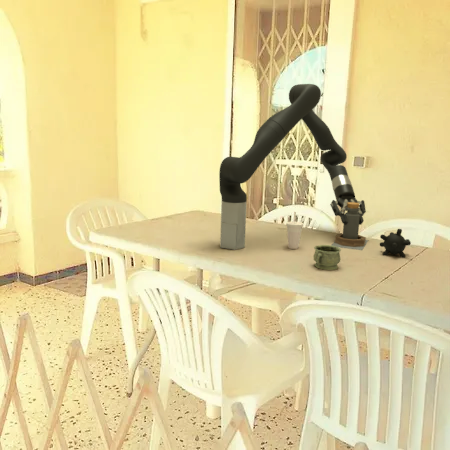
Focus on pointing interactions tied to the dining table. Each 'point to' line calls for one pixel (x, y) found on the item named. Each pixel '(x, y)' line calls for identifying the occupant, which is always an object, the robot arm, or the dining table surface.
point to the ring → (350, 241)
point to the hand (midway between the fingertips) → (353, 223)
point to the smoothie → (294, 233)
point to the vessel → (327, 257)
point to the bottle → (351, 221)
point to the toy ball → (394, 243)
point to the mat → (349, 246)
